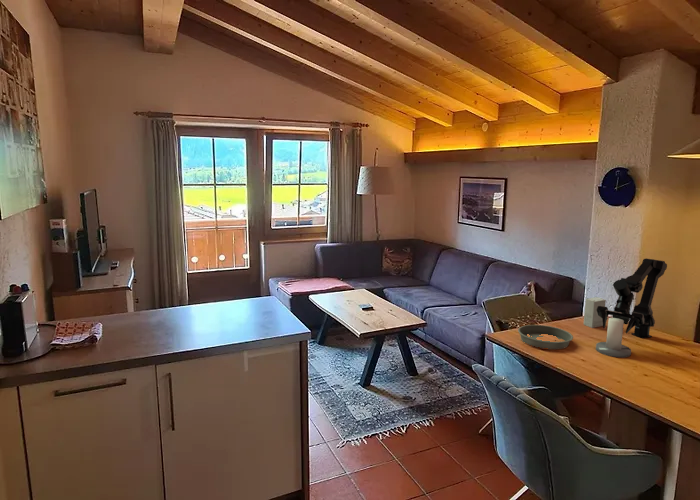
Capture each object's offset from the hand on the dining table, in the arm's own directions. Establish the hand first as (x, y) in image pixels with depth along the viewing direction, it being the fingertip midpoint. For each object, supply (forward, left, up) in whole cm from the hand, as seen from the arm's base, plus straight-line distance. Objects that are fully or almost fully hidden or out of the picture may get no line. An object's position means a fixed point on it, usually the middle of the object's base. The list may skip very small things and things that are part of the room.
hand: (614, 330), depth 208 cm
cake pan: (+20, -21, -11) cm, 31 cm away
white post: (0, 0, -8) cm, 8 cm away
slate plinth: (0, 0, -10) cm, 10 cm away
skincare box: (-22, -31, -10) cm, 40 cm away
